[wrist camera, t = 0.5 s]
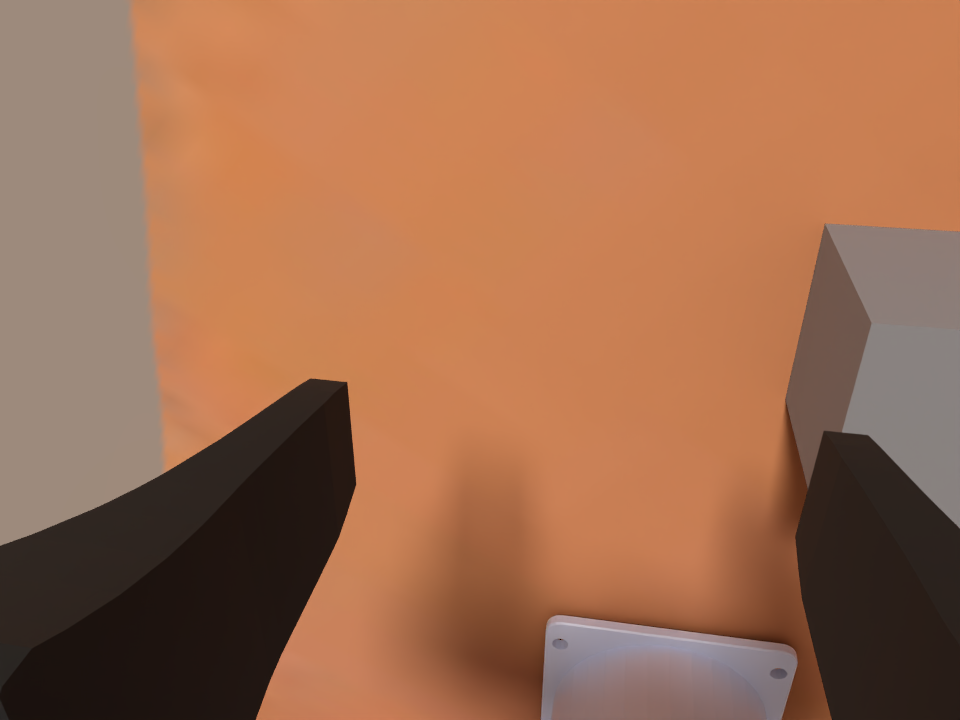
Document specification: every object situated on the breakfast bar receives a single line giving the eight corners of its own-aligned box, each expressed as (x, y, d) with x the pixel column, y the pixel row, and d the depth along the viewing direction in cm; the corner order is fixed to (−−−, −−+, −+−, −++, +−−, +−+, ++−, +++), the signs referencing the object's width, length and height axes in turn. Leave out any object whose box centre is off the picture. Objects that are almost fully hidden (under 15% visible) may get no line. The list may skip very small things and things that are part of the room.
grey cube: (985, 415, 22) (1065, 550, 18) (784, 397, 23) (816, 524, 18) (1053, 236, 19) (1167, 345, 15) (824, 222, 20) (871, 323, 16)
